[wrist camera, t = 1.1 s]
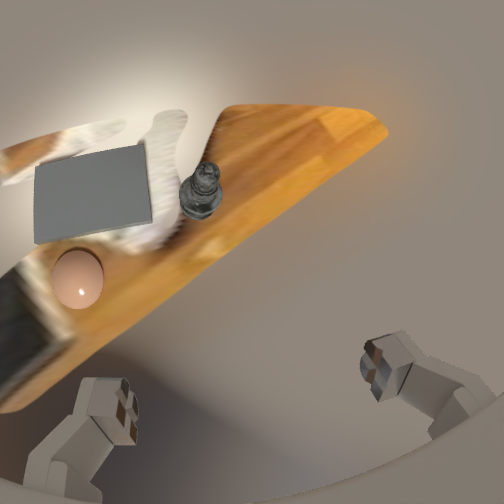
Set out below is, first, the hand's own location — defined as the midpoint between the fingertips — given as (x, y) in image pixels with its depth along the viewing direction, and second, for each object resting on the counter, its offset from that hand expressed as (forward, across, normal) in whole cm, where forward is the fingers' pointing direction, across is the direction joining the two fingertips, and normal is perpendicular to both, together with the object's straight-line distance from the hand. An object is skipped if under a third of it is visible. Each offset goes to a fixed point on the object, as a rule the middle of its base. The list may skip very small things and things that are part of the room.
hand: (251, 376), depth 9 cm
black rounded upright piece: (+36, +2, +4) cm, 36 cm away
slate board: (+35, +18, 0) cm, 39 cm away
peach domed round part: (+28, +20, +10) cm, 36 cm away
